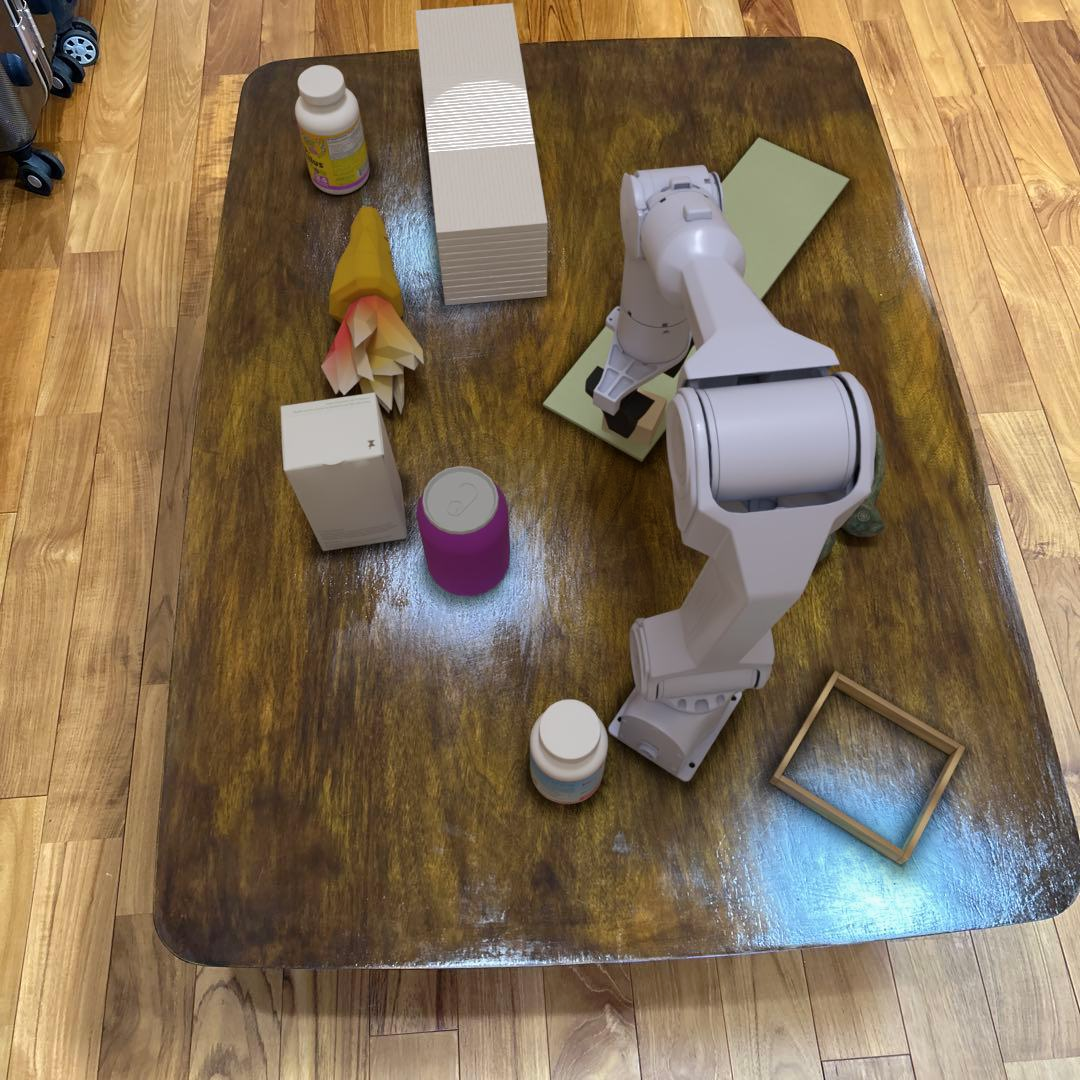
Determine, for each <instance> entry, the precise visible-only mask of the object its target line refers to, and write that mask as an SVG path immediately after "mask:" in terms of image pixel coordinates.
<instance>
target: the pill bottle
mask: <svg viewBox="0 0 1080 1080" xmlns="http://www.w3.org/2000/svg"><path fill="white" fill-rule="evenodd" d="M607 732H608V731H607V729H606V727H605V725H604V723H603V722H602V720H601V718H599V716H598V715H597V713H596V712H595V711H594V709H593V708H592V707H591V706H590V705H588V704H587V703H585V702H583V701H580V700H577V699H572V698H571V699H570V698H569V699H568V698H567V699H562V700H558V701H556V702H554V703H552V704H551V705H549V706H548V707H547V708H546V709H545V711H544V712H542V713H541V715H539V716H538V718H537V719H536V720H535V722H534V724H533V725H532V728H531V731H530V736H529V770H530V776H531V779H532V782H533V784H534V786H535V788H536V789H537V791H538V792H539V793H540V794H541V795H542V796H543V797H544V798H546V799H548V800H550V801H551V802H555V803H558V804H565V805H570V804H571V805H572V804H578V803H581V802H583V801H586V800H587V799H589V798H590V797H591V796H592V795H594V793H595V792H596V791H597V790H598V789H599V787H600V785H601V783H602V781H603V777H604V772H605V768H606V761H607V755H608V748H609V736H608V733H607Z"/></svg>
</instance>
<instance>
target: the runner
mask: <svg viewBox="0 0 1080 1080" xmlns="http://www.w3.org/2000/svg"><path fill="white" fill-rule="evenodd" d="M849 181H850V178H848V177H846V176H844V175H843V174H840V173H837V172H835V171H833V170H831V169H829V168H827V167H824V166H822V165H820V164H818V163H815V162H813V161H811V160H809V159H807V158H805V157H803V156H801V155H799V154H796V153H794V152H791V151H789V150H787V149H785V148H783V147H781V146H778V145H776V144H774V143H772V142H770V141H768V140H766V139H763V138H761V137H758V138H757V139H756V140H755V141H754V143H753V144H752V145H751V146H750V147H749V149H748V150H747V151H746V152H745V153H744V155H743V156H742V157H741V158H740V160H739V161H738V162H737V163H736V165H734V167H733V168H732V170H731V171H730V172H729V173H728V174H727V176H726V177H725V178H724V179H723V180H722V182H720V183H721V186H722V192H723V201H724V216H725V218H726V219H727V221H728V223H729V224H730V226H731V228H732V229H733V231H734V233H735V234H736V236H737V237H738V239H739V241H740V243H741V244H742V246H743V248H744V251H745V256H746V267H745V273H744V276H743V279H744V280H745V281H746V282H747V284H748V285H749V286H750V287H751V289H752V290H753V291H754V292H755V294H756V295H757V296H758V297H759V298H760V300H761V301H762V300H763V299H764V297H765V296H766V294H767V293H768V292H769V290H770V289H771V288H772V287H773V285H774V284H775V282H776V281H777V280H778V278H779V277H780V276H781V274H782V273H783V272H784V270H785V269H786V268H787V266H788V265H789V263H790V262H791V261H792V259H793V258H794V257H795V255H796V254H797V253H798V251H799V250H800V249H801V247H802V246H803V244H804V243H805V242H806V240H807V239H808V238H809V236H810V235H811V234H812V233H813V231H814V229H815V228H816V227H817V226H818V224H819V223H820V221H821V220H822V219H823V218H824V216H825V215H826V214H827V212H828V211H829V209H830V208H831V207H832V205H833V204H834V202H835V201H836V199H838V197H839V196H840V195H841V193H842V192H843V190H844V189H845V187H846V186H847V185H848V184H849ZM613 335H614V332H613V331H612V330H611V329H609V328H608V327H606V325H605V326H604V327H603V329H602V330H601V331H600V332H599V334H598V335H597V336H596V337H595V339H594V340H593V341H592V342H591V343H590V345H589V346H588V347H587V348H586V349H585V351H584V352H583V353H582V355H580V357H579V358H578V359H577V361H576V362H575V363H574V364H573V366H572V367H571V368H570V370H569V371H568V372H567V373H566V374H565V375H564V377H563V378H562V379H561V381H559V383H558V384H557V386H556V387H555V388H554V389H553V390H552V391H551V393H550V394H549V395H548V397H546V399H545V400H544V402H542V407H543V408H545V409H547V410H549V411H551V412H552V413H554V414H556V415H558V417H561V418H562V419H565V420H566V421H569V422H570V423H572V424H574V425H575V426H577V427H578V428H580V429H583V430H584V431H586V432H587V433H590V434H592V435H593V436H595V437H597V438H598V439H599V440H602V441H604V442H606V444H609V445H611V446H612V447H614V448H616V449H618V450H619V451H621V452H623V453H625V454H626V455H628V456H630V457H632V458H634V459H636V460H637V461H639V462H640V463H641V462H643V461H644V460H645V459H646V457H647V456H648V454H649V453H650V452H651V450H652V449H653V448H654V447H655V445H656V443H657V442H658V441H659V440H660V438H661V437H662V436H663V434H664V433H665V432H666V418H667V409H668V405H669V403H670V401H671V400H672V398H673V397H674V396H675V394H676V390H677V382H678V377H679V373H680V371H679V372H678V373H677V375H676V376H675V377H674V378H671V377H670V376H668V375H666V374H664V373H662V374H660V375H658V376H657V377H655V378H654V379H652V380H650V381H649V382H647V383H645V384H644V385H642V386H641V387H639V388H640V389H643V390H645V391H648V392H651V393H654V394H656V395H659V396H662V397H665V398H667V403H666V408H665V414H664V417H663V419H662V421H661V424H660V426H659V428H658V430H657V432H656V434H655V436H654V438H653V441H652V443H651V445H650V447H647V446H644V445H642V444H639V443H636V442H634V441H631V440H628V439H625V438H623V437H620V436H617V435H615V434H612V433H609V432H607V431H604V430H602V419H603V412H602V410H601V409H600V408H598V407H597V406H595V405H593V399H592V398H591V397H590V396H589V395H588V394H587V393H586V392H585V383H586V379H587V378H588V377H589V375H590V374H591V373H592V372H593V370H594V369H595V368H596V367H597V366H599V367H601V368H603V369H604V368H605V364H606V361H607V357H608V353H609V350H610V346H611V342H612V339H613ZM695 352H696V348H695V345H694V346H693V347H692V349H691V351H690V352H689V354H688V356H687V358H686V360H685V362H686V361H687V360H688V359H689V358H690V357H691V356H692V355H693V354H694V353H695ZM685 362H684V363H685ZM683 365H684V364H683ZM681 368H682V367H681ZM680 370H681V369H680Z"/></svg>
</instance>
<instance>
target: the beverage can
mask: <svg viewBox="0 0 1080 1080" xmlns="http://www.w3.org/2000/svg"><path fill="white" fill-rule="evenodd" d="M416 506H417V507H416V513H415V516H416V520H417V526H418V530H419V535H420V540H421V544H422V549H423V553H424V556H425V563H426V567H427V571H428V573H429V575H430V576H431V578H432V579H433V581H434V582H435V584H436V585H438V586H439V587H440V588H441V589H443V590H444V591H445V592H447V593H449V594H452V595H455V596H459V597H475V596H479V595H484V594H486V593H488V592H489V591H491V590H493V589H494V588H496V587H497V586H498V585H499V584H500V583H501V581H502V580H504V579H505V576H506V574H507V572H508V570H509V567H510V559H511V538H510V521H509V519H510V518H509V507H508V504H507V499H506V496H505V494H504V492H503V491H502V490H501V489H500V487H499V485H497V484H496V482H494V481H493V479H491V477H490V476H489V475H487V474H486V473H484V472H483V471H482V470H480V469H477V468H474V467H472V466H462V465H457V466H452V467H448V468H445V469H443V470H442V471H440V472H437V473H436V474H435V475H434V476H433V477H432V478H431V479H430V480H429V481H428V482H427V484H426V487H425V488H424V490H423V492H422V494H421V496H420V497H419V499H418V501H417V504H416Z"/></svg>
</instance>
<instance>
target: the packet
mask: <svg viewBox="0 0 1080 1080" xmlns="http://www.w3.org/2000/svg"><path fill="white" fill-rule="evenodd" d="M637 391H638V392H640V393H642V394H644V395H646V396H647V397H649V398H651V399H653V400H655V402H654V403H653V405H652V406H651V407H650V408H649V410H648V411H647V412H646V414H645V415H644V416H643V417H642V418H641V419H640V420H638V423H637V426H636V428H635V430H634V431H633V433H632V434H631V435H630V437H629V438H627V439H628V440H631V441H634V442H636V443H639V444H642V445H644V446H647V447H650V445H651V443H652V441H653V438H654V436H655V434H656V432H657V430H658V428H659V426H660V424H661V421H662V419H663V417H664V414H665V408H666V403H667V398H665V397H662V396H659V395H656V394H654V393H651V392H648V391H645V390H643V389H640V388H638V389H637ZM602 430H604V431H607V432H609V433H612V434H615V435H617V436H620V437H622V436H621V435H619V434H617V433H615V432H613V431H612V430H610V429H609V428H608V425H607V422H606V419H605V417H604V414H603V419H602ZM623 438H624V437H623ZM625 439H626V438H625Z"/></svg>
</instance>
